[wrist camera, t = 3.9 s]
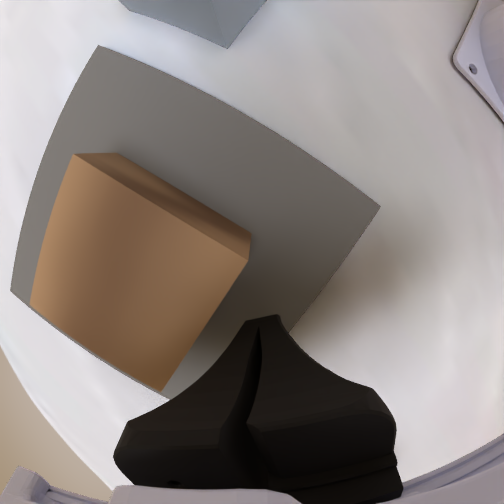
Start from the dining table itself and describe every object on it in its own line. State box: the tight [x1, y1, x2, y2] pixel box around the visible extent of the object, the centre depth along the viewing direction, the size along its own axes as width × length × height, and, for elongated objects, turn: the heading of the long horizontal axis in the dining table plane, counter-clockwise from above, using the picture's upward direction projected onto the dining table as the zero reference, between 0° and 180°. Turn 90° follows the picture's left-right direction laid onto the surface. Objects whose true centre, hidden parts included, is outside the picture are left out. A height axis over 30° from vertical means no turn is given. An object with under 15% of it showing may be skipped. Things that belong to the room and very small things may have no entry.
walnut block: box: [30, 153, 252, 392], centre depth 10 cm, size 6×6×3 cm
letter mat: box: [10, 45, 381, 400], centre depth 12 cm, size 13×13×1 cm
